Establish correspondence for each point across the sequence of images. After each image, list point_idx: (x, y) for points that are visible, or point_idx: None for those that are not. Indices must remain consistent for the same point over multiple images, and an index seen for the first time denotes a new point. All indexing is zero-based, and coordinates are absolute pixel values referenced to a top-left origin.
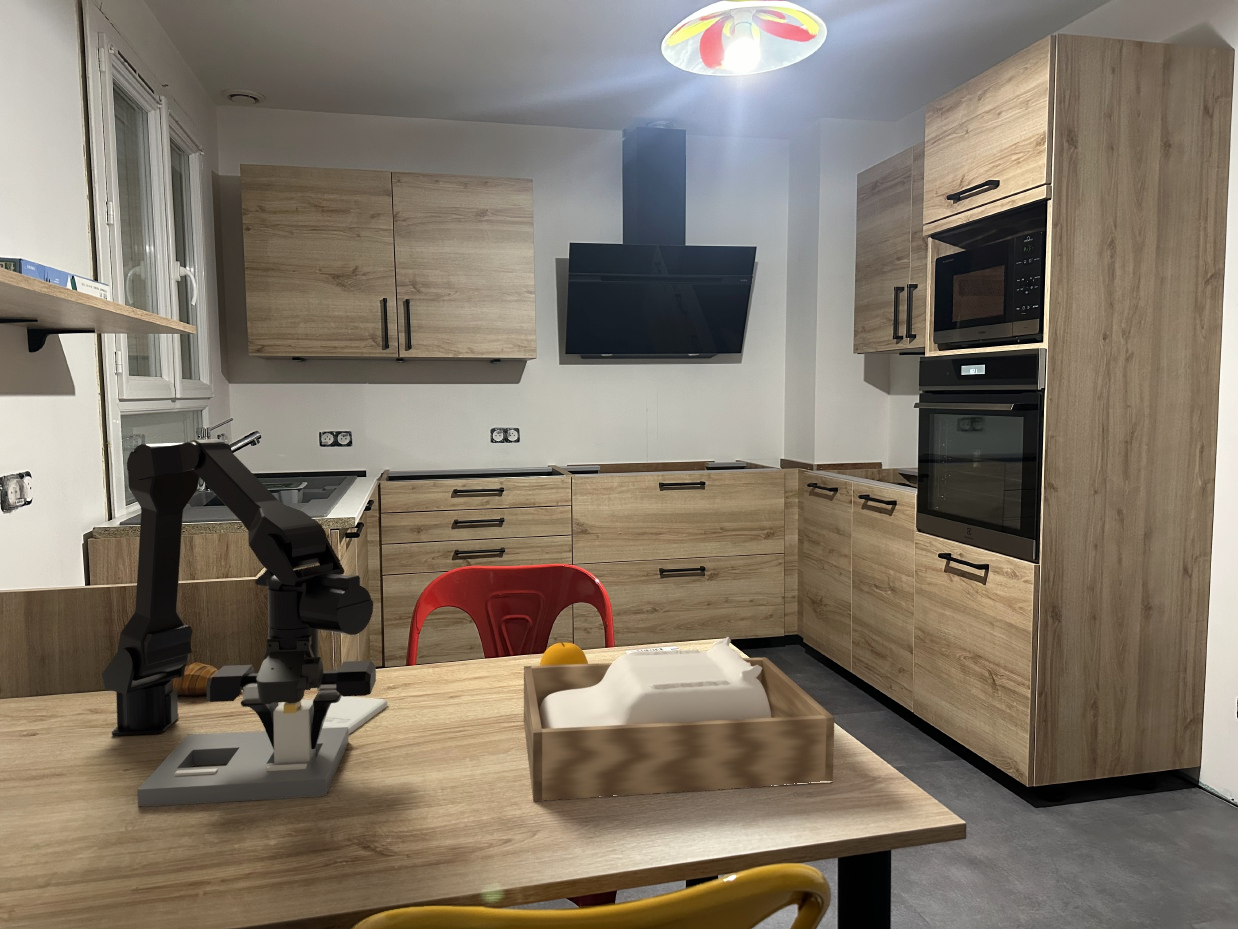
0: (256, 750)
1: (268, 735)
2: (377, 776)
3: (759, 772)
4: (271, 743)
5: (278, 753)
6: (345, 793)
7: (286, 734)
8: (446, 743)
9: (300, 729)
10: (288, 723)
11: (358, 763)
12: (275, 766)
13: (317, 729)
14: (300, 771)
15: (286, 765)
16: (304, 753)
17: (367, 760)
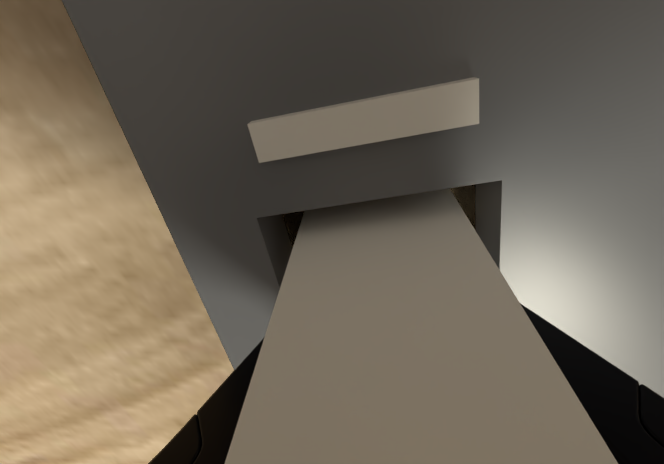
0: (587, 319)
1: (567, 338)
2: (40, 206)
3: None
4: (522, 306)
5: (453, 239)
6: (50, 33)
7: (424, 322)
8: (10, 410)
9: (317, 359)
10: (420, 402)
11: (177, 301)
12: (429, 117)
13: (235, 386)
14: (264, 86)
15: (367, 134)
16: (311, 252)
17: (161, 320)
